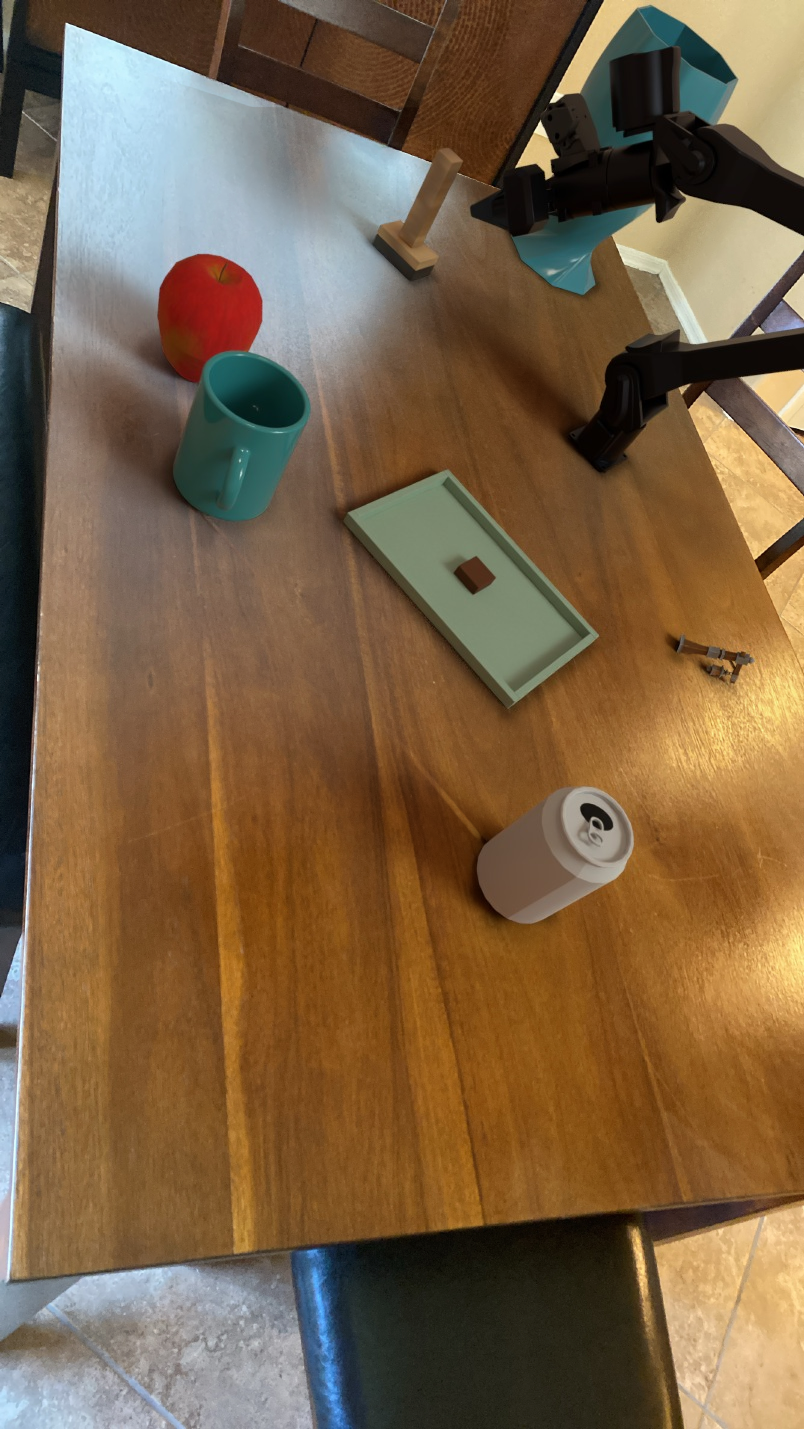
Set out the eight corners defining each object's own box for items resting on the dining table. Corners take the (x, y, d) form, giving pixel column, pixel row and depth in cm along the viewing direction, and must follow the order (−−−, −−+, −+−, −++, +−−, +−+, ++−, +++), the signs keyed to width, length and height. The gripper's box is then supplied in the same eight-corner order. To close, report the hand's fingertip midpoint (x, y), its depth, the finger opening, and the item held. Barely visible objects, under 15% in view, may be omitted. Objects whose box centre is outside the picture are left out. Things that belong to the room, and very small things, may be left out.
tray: (440, 480, 92) (447, 468, 91) (589, 645, 89) (599, 635, 88) (340, 524, 82) (347, 512, 81) (504, 711, 80) (514, 702, 78)
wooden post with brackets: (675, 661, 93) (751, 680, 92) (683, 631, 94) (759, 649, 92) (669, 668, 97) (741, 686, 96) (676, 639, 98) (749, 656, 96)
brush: (429, 274, 112) (481, 173, 102) (410, 281, 110) (462, 177, 99) (392, 238, 113) (440, 133, 102) (371, 243, 110) (419, 136, 100)
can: (558, 865, 73) (649, 807, 64) (540, 943, 69) (636, 893, 60) (484, 823, 72) (566, 758, 63) (460, 900, 67) (545, 842, 58)
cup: (155, 529, 73) (187, 430, 64) (180, 434, 79) (211, 333, 71) (259, 563, 76) (302, 473, 67) (274, 469, 82) (315, 376, 74)
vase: (522, 281, 122) (660, 54, 100) (491, 207, 130) (613, -21, 107) (615, 312, 131) (763, 108, 108) (581, 239, 138) (712, 35, 115)
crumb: (470, 562, 87) (476, 555, 86) (490, 584, 87) (496, 577, 86) (453, 572, 85) (458, 565, 84) (473, 595, 85) (479, 588, 84)
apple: (229, 345, 88) (265, 238, 79) (248, 410, 85) (287, 306, 76) (136, 329, 84) (163, 213, 74) (152, 397, 80) (182, 284, 71)
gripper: (648, 83, 94) (522, 118, 103) (570, 91, 82) (435, 130, 91) (653, 201, 99) (533, 224, 109) (581, 224, 87) (452, 248, 97)
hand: (491, 205), depth 101 cm, fingers open, 9 cm apart
